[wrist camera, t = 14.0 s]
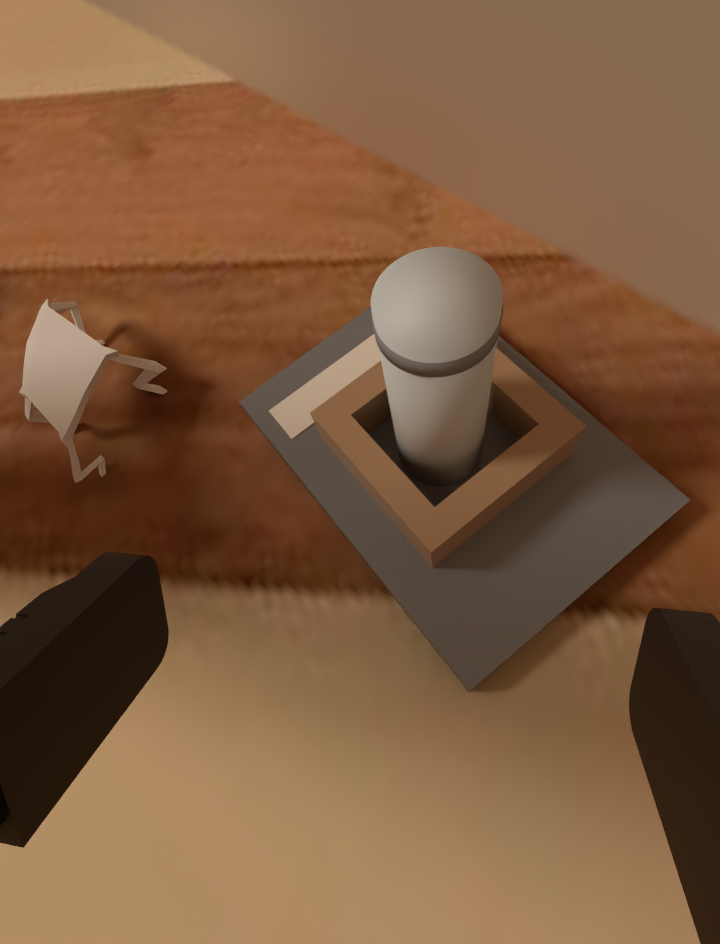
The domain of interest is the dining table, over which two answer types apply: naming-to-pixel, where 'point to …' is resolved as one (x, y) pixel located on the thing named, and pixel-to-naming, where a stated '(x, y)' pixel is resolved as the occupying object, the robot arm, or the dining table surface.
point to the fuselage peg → (438, 357)
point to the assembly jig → (465, 496)
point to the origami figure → (70, 375)
